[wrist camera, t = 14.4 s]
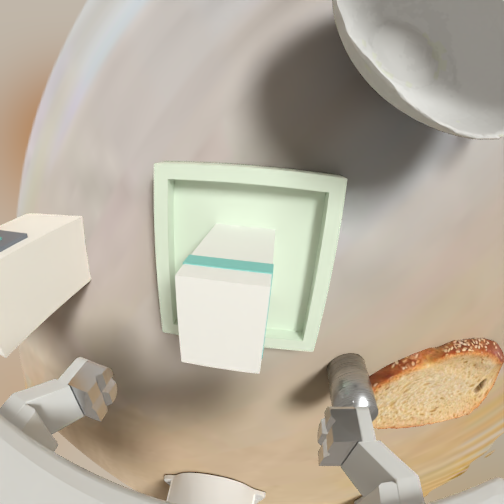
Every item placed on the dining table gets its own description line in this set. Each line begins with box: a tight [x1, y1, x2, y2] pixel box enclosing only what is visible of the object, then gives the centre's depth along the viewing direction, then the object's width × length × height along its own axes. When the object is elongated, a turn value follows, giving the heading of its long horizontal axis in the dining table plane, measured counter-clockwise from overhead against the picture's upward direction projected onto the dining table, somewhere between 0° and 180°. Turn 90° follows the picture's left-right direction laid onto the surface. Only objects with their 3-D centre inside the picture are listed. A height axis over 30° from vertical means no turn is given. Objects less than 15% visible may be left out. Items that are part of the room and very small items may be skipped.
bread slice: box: [369, 338, 504, 429], centre depth 23 cm, size 18×18×4 cm
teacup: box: [332, 0, 504, 140], centre depth 10 cm, size 15×12×8 cm
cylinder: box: [327, 353, 378, 421], centre depth 21 cm, size 4×4×6 cm
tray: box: [154, 161, 347, 352], centre depth 20 cm, size 13×12×2 cm
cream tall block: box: [0, 213, 91, 358], centre depth 17 cm, size 7×8×12 cm
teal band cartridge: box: [175, 223, 276, 374], centre depth 16 cm, size 5×4×8 cm
